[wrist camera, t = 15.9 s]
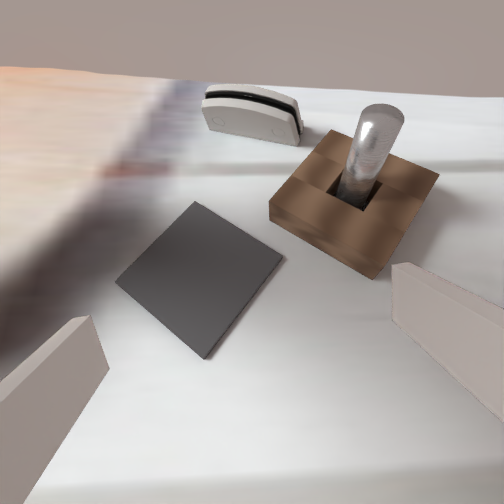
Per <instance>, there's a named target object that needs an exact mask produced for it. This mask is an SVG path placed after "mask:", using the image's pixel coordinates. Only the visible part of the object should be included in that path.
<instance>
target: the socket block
mask: <svg viewBox="0 0 504 504" xmlns="http://www.w3.org/2000/svg"><path fill="white" fill-rule="evenodd" d="M352 141H353V138H351V137H348V136H346V135H344V134H341V133H339V132H336V131H334V130H332V129H331V130H330V131H329V132H328V134H327V135H326V136H325V137H324V138H323V139H322V141H321V142H320V143H319V144H318V145H317V146H316V147H315V149H314V150H313V151H312V152H311V153H310V154H309V155H308V157H307V158H306V159H305V160H304V161H303V162H302V164H301V165H300V166H299V167H298V168H297V169H296V170H295V172H294V173H293V174H292V175H291V176H290V177H289V179H288V180H287V181H286V182H285V183H284V184H283V185H282V187H281V188H280V189H279V190H278V191H277V192H276V193H275V195H274V196H273V197H272V198H271V199H270V200H269V220H270V221H272V222H273V223H275V224H277V225H279V226H280V227H282V228H284V229H285V230H287V231H289V232H291V233H292V234H294V235H296V236H297V237H299V238H301V239H303V240H304V241H306V242H308V243H309V244H311V245H313V246H315V247H316V248H318V249H320V250H321V251H323V252H325V253H327V254H328V255H330V256H332V257H333V258H335V259H337V260H338V261H340V262H342V263H344V264H345V265H347V266H349V267H350V268H352V269H354V270H356V271H357V272H359V273H361V274H362V275H364V276H366V277H368V278H369V279H371V280H373V279H374V278H375V276H376V275H377V274H378V273H379V272H380V271H381V270H382V269H383V267H384V266H385V265H386V263H387V261H388V260H389V258H390V257H391V255H392V253H393V252H394V250H395V248H396V247H397V245H398V243H399V242H400V240H401V238H402V237H403V235H404V233H405V232H406V230H407V228H408V227H409V225H410V223H411V222H412V220H413V218H414V217H415V215H416V213H417V212H418V210H419V208H420V207H421V205H422V203H423V202H424V200H425V198H426V197H427V195H428V193H429V192H430V190H431V188H432V187H433V185H434V183H435V182H436V180H437V178H438V177H439V175H440V174H438V173H435V172H433V171H431V170H428V169H426V168H423V167H421V166H419V165H416V164H414V163H411V162H409V161H406V160H404V159H402V158H399V157H397V156H394V155H392V154H390V153H389V154H388V156H387V158H386V160H385V162H384V164H383V167H382V169H381V171H380V173H379V175H378V177H377V179H376V181H375V183H374V185H373V187H372V189H371V191H370V194H369V196H368V198H367V200H366V201H367V202H369V204H368V206H367V207H366V209H365V210H364V212H363V211H361V210H359V209H357V208H355V207H354V206H352V205H350V204H348V203H346V202H344V201H342V200H340V199H338V198H336V197H334V196H333V195H334V194H335V192H336V191H337V189H338V186H339V183H340V180H341V177H342V173H343V170H344V167H345V164H346V161H347V157H348V154H349V151H350V148H351V145H352Z"/></svg>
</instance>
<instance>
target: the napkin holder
mask: <svg viewBox="0 0 504 504" xmlns="http://www.w3.org/2000/svg"><path fill="white" fill-rule="evenodd" d="M205 97H206V98H205V99H204V100H203V101H202V112H203V114H204V117H205V119H206V122H207V125H208V127H209V130H212V131H217V132H223V133H228V134H233V135H238V136H244V137H249V138H254V139H259V140H265V141H270V142H275V143H281V144H286V145H291V146H296V147H297V145H298V144H299V142H300V139H299V135H300V134H302V130H303V120H301V117H300V112H299V108H298V103H297V101H296V100H295V99H293V98H291V97H288V96H286V95H283V94H280V93H277V92H275V91H271V90H267V89H264V88H260V87H255V86H248V85H240V84H220V85H212V86H209V87H208V89H207V91H206V92H205Z"/></svg>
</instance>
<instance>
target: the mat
mask: <svg viewBox="0 0 504 504" xmlns="http://www.w3.org/2000/svg"><path fill="white" fill-rule="evenodd" d="M281 259H282V255H281V254H279V253H277V252H276V251H274V250H273V249H271V248H269V247H268V246H266V245H265V244H263V243H261V242H260V241H258V240H257V239H255V238H253V237H252V236H250V235H249V234H247V233H245V232H244V231H242V230H241V229H239V228H237V227H236V226H234V225H233V224H231V223H229V222H228V221H226V220H225V219H223V218H221V217H220V216H218V215H217V214H215V213H213V212H212V211H210V210H209V209H207V208H205V207H204V206H202V205H200V204H199V203H197V202H196V201H194V202H193V203H192V204H191V205H190V206H189V207H188V209H187V210H186V211H185V212H184V213H183V214H182V215H181V216H180V217H179V218H178V219H177V220H176V221H175V222H174V223H173V224H172V225H171V226H170V227H169V228H168V229H167V230H166V231H165V232H164V233H163V234H162V235H161V236H160V237H159V238H158V239H157V240H156V241H155V242H154V243H153V244H152V245H151V246H150V247H149V248H148V249H147V250H146V251H145V252H144V253H143V254H142V255H141V256H140V257H139V258H138V259H137V260H136V261H135V262H134V263H133V264H132V265H131V266H130V267H129V268H128V269H127V270H126V271H125V272H124V273H123V274H122V275H121V276H120V277H119V278H118V279H117V280H116V281H115V283H116V284H118V285H119V286H120V287H121V288H122V289H123V290H124V291H126V292H127V293H128V294H129V295H130V296H131V297H132V298H134V299H135V300H136V301H137V302H138V303H139V304H141V305H142V306H143V307H144V308H145V309H146V310H147V311H149V312H150V313H151V314H152V315H153V316H154V317H155V318H157V319H158V320H159V321H160V322H161V323H162V324H163V325H165V326H166V327H167V328H168V329H169V330H170V331H171V332H173V333H174V334H175V335H176V336H177V337H178V338H179V339H181V340H182V341H183V342H184V343H185V344H186V345H187V346H189V347H190V348H191V349H192V350H193V351H194V352H195V353H197V354H198V355H199V356H200V357H201V358H202V359H205V358H206V357H207V355H208V354H209V353H210V351H211V350H212V349H213V348H214V346H215V345H216V344H217V342H218V341H219V340H220V338H221V337H222V336H223V335H224V333H225V332H226V331H227V329H228V328H229V327H230V325H231V324H232V323H233V322H234V320H235V319H236V318H237V316H238V315H239V314H240V312H241V311H242V310H243V309H244V307H245V306H246V305H247V303H248V302H249V301H250V300H251V298H252V297H253V296H254V294H255V293H256V292H257V290H258V289H259V288H260V287H261V285H262V284H263V283H264V281H265V280H266V279H267V277H268V276H269V275H270V274H271V272H272V271H273V270H274V268H275V267H276V266H277V264H278V263H279V262H280V261H281Z"/></svg>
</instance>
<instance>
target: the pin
mask: <svg viewBox="0 0 504 504" xmlns="http://www.w3.org/2000/svg"><path fill="white" fill-rule="evenodd" d="M403 123H404V115H403V113H402V112H401V111H400V110H399V109H397V108H396V107H394V106H391V105H388V104H373V105H370V106H368V107H366V108H365V109H364V110H363V111H362V113H361V116H360V119H359V122H358V125H357V129H356V132H355V135H354V138H353V141H352V145H351V148H350V151H349V154H348V157H347V161H346V164H345V167H344V170H343V173H342V177H341V180H340V183H339V186H338V189H337V193H336V196H335V197H336V198H338V199H340V200H342V201H344V202H346V203H348V204H350V205H352V206H354V207H355V208H357V209H359V210H362V208H363V206H364V204H365V202H366V200H367V198H368V196H369V194H370V191H371V189H372V187H373V185H374V183H375V181H376V179H377V177H378V175H379V173H380V171H381V169H382V167H383V164H384V162H385V160H386V158H387V156H388V154H389V152H390V150H391V148H392V146H393V144H394V142H395V140H396V138H397V135H398V133H399V131H400V129H401V127H402V125H403Z"/></svg>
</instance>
